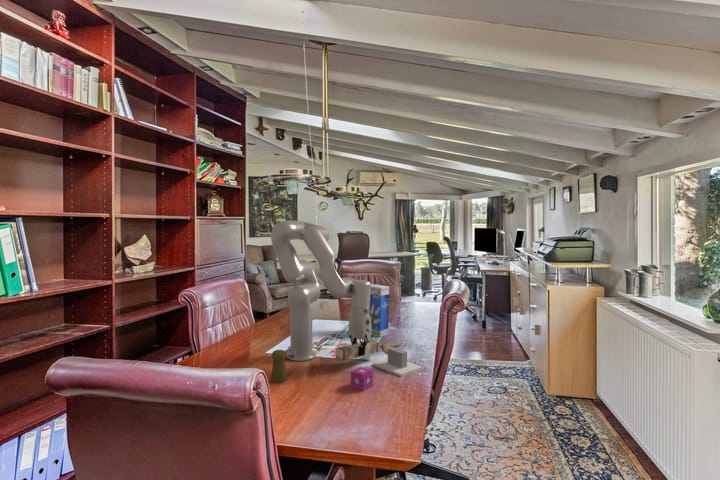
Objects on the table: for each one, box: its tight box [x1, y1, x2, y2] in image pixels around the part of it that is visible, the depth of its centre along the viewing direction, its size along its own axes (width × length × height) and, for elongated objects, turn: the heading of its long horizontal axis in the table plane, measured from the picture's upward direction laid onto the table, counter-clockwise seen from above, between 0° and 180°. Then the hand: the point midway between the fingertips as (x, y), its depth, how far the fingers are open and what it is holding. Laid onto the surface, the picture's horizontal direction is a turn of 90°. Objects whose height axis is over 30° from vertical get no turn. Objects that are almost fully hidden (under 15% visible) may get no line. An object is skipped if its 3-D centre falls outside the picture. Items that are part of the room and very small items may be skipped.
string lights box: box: [369, 283, 390, 338], centre depth 205 cm, size 13×8×26 cm, turn 49°
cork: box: [270, 349, 288, 384], centre depth 143 cm, size 6×6×11 cm
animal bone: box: [381, 342, 403, 354], centre depth 175 cm, size 21×2×10 cm
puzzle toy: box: [350, 366, 374, 392], centre depth 138 cm, size 6×6×6 cm
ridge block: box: [372, 346, 423, 377], centre depth 156 cm, size 12×16×7 cm
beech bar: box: [335, 339, 380, 362], centre depth 160 cm, size 20×4×4 cm, turn 130°
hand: (357, 353), depth 160 cm, fingers closed on beech bar, 4 cm apart
